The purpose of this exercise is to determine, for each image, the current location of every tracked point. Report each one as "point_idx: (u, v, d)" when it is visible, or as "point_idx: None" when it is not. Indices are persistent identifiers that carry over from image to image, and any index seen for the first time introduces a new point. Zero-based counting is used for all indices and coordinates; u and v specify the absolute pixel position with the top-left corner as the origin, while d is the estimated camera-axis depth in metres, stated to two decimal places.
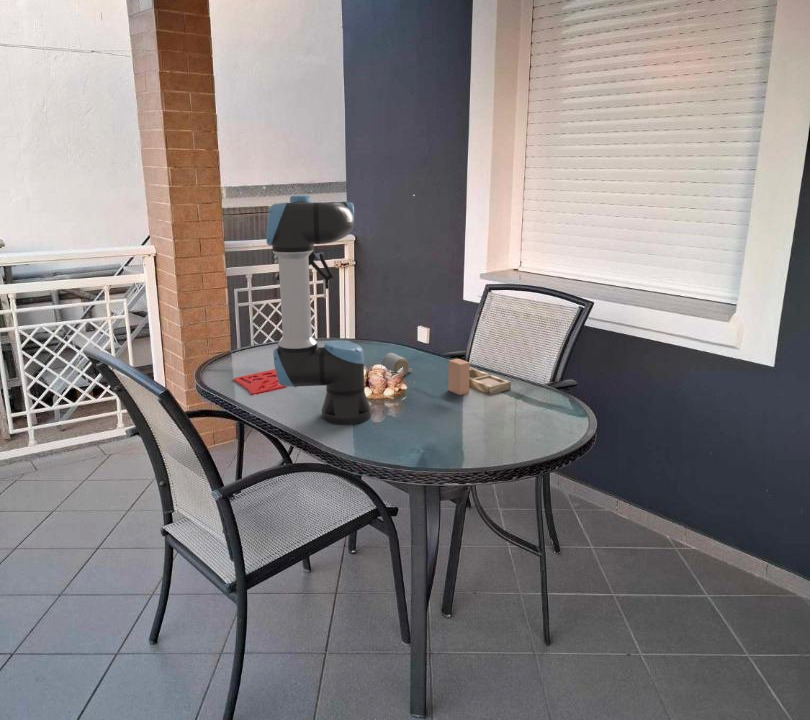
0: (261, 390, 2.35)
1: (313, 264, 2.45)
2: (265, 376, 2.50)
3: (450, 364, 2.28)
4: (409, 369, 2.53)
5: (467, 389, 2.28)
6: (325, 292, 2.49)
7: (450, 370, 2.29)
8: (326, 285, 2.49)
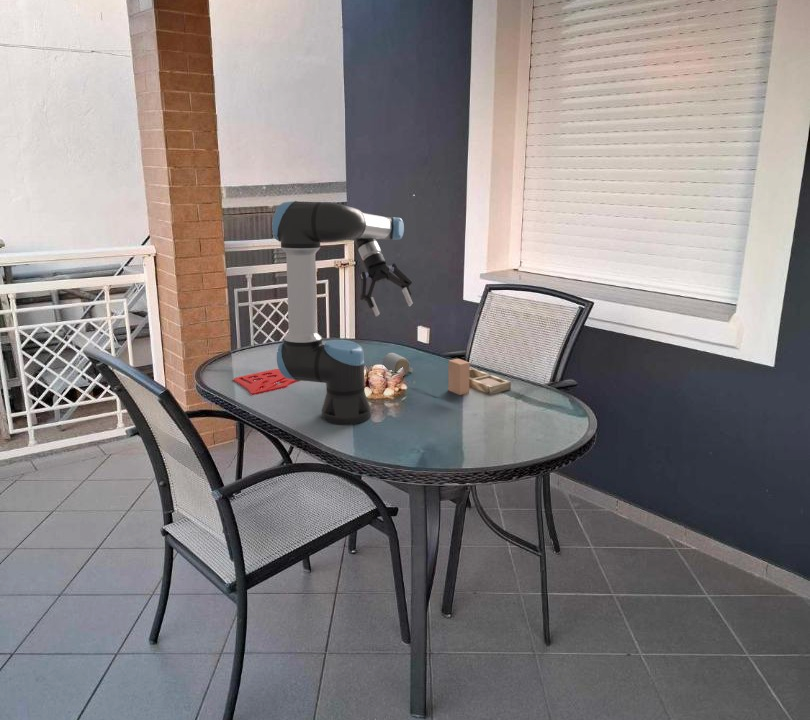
0: (261, 390, 2.35)
1: (390, 274, 2.46)
2: (265, 376, 2.50)
3: (450, 364, 2.28)
4: (410, 369, 2.54)
5: (467, 389, 2.28)
6: (410, 298, 2.46)
7: (450, 370, 2.29)
8: None
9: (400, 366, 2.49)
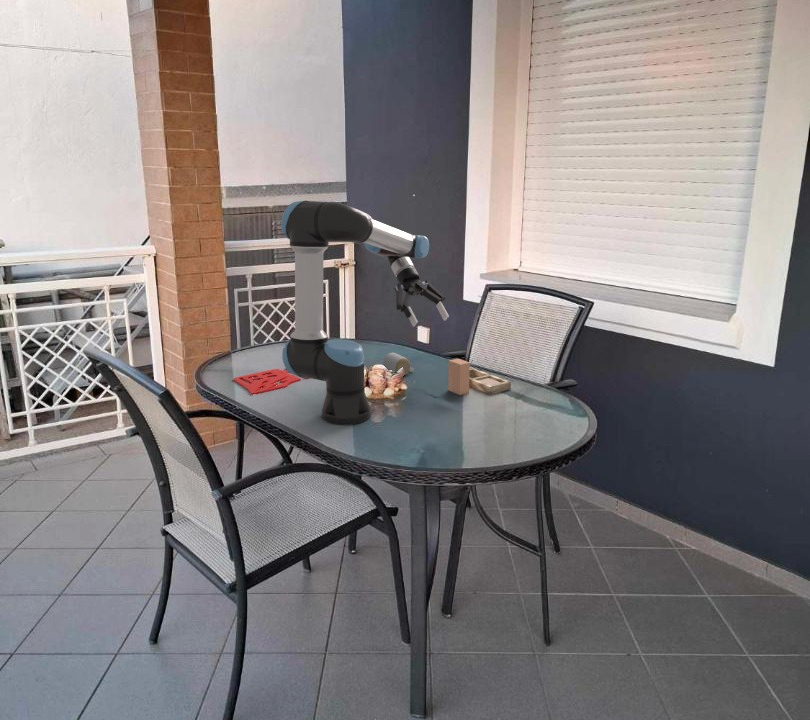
0: (261, 390, 2.35)
1: (425, 288, 2.42)
2: (265, 376, 2.50)
3: (450, 364, 2.28)
4: (410, 369, 2.54)
5: (467, 389, 2.28)
6: (446, 311, 2.41)
7: (450, 370, 2.29)
8: None
9: (401, 366, 2.49)
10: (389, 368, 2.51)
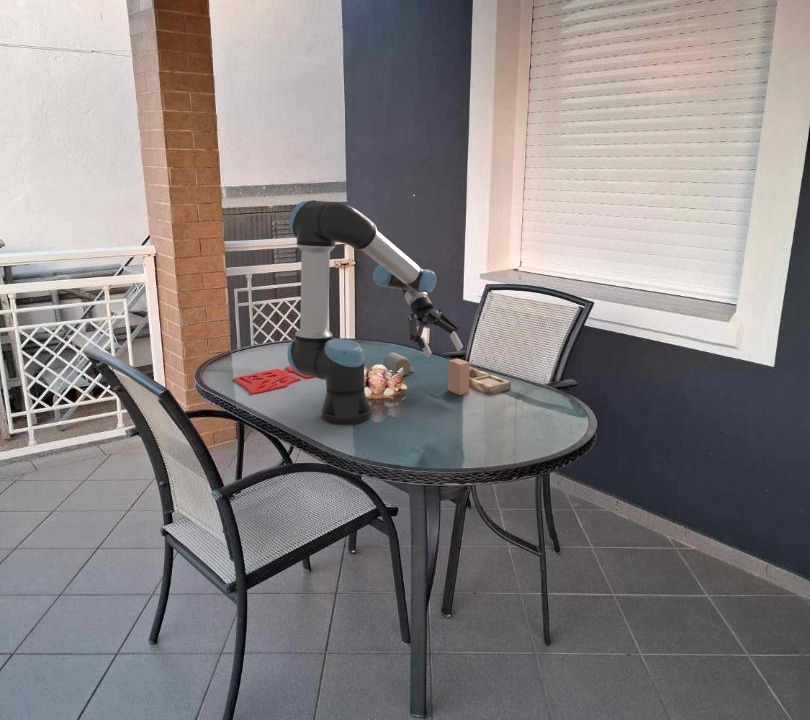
0: (261, 390, 2.35)
1: (439, 317, 2.39)
2: (265, 376, 2.50)
3: (450, 364, 2.28)
4: (411, 369, 2.54)
5: (467, 389, 2.28)
6: None
7: (450, 370, 2.29)
8: None
9: (401, 366, 2.49)
10: (390, 368, 2.51)
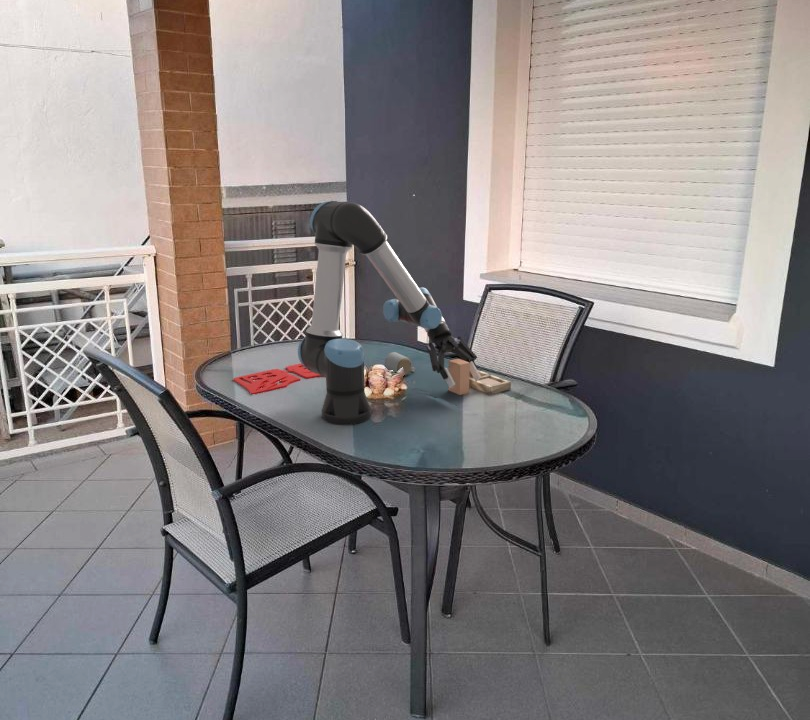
0: (261, 390, 2.35)
1: (457, 345, 2.32)
2: (265, 376, 2.50)
3: (450, 364, 2.28)
4: (412, 368, 2.54)
5: (467, 389, 2.28)
6: None
7: (450, 370, 2.29)
8: (474, 366, 2.32)
9: (402, 365, 2.49)
10: (391, 368, 2.51)
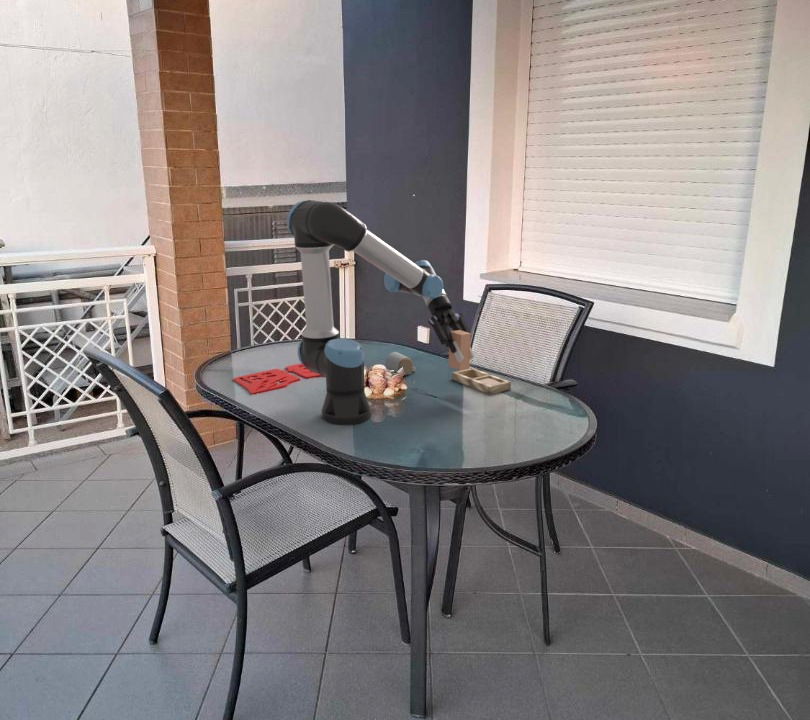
0: (260, 390, 2.35)
1: (455, 320, 2.29)
2: (265, 376, 2.50)
3: (451, 335, 2.25)
4: (413, 368, 2.54)
5: (467, 361, 2.25)
6: None
7: None
8: None
9: (403, 365, 2.50)
10: (391, 367, 2.52)
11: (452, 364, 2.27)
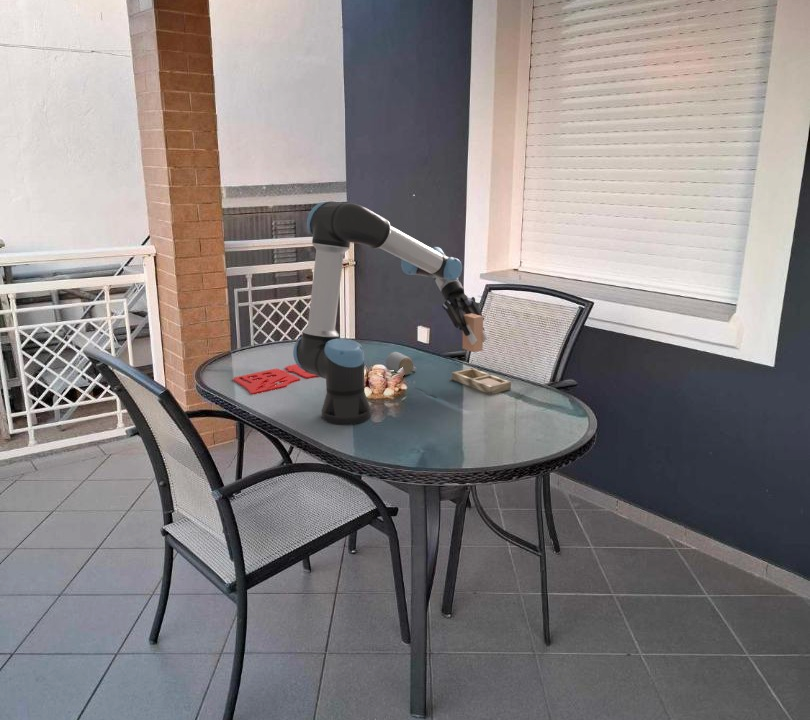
0: (260, 390, 2.35)
1: (468, 304, 2.38)
2: (264, 376, 2.50)
3: (464, 318, 2.35)
4: (413, 368, 2.55)
5: (481, 343, 2.35)
6: (484, 332, 2.34)
7: None
8: None
9: (404, 365, 2.50)
10: (392, 367, 2.52)
11: (465, 347, 2.37)
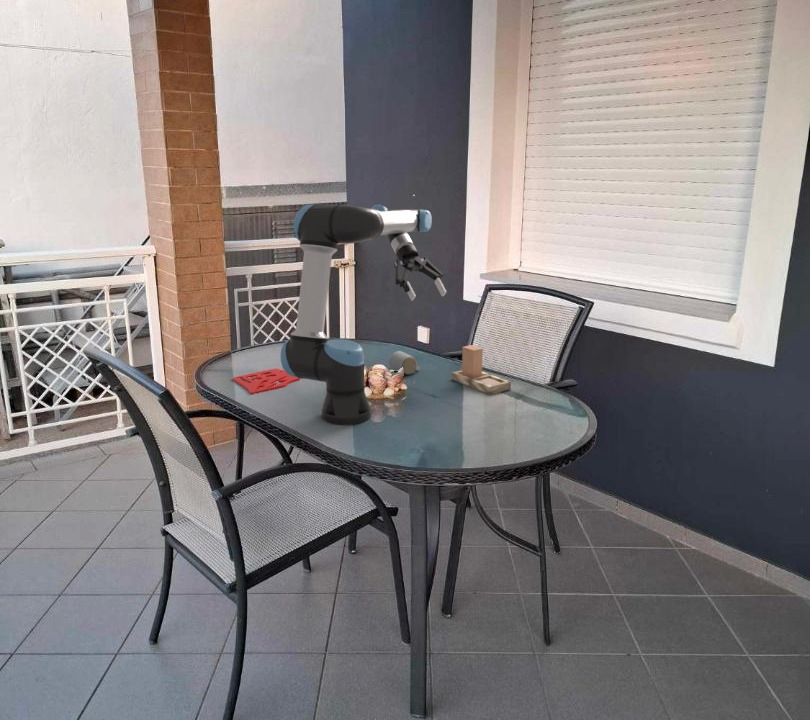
0: (260, 389, 2.36)
1: (424, 264, 2.48)
2: (264, 375, 2.51)
3: (464, 350, 2.39)
4: (417, 367, 2.56)
5: (480, 374, 2.39)
6: (444, 287, 2.47)
7: (463, 356, 2.39)
8: None
9: (407, 364, 2.51)
10: (395, 366, 2.53)
11: None
